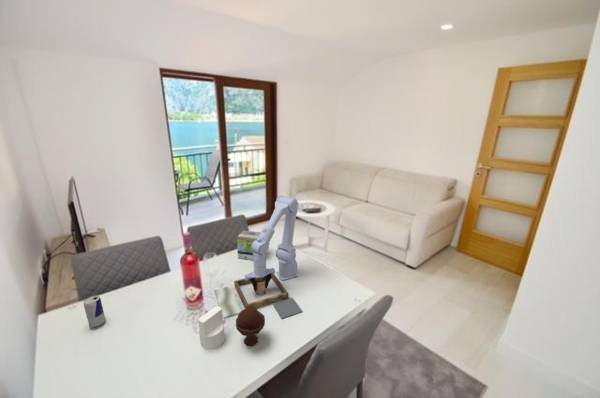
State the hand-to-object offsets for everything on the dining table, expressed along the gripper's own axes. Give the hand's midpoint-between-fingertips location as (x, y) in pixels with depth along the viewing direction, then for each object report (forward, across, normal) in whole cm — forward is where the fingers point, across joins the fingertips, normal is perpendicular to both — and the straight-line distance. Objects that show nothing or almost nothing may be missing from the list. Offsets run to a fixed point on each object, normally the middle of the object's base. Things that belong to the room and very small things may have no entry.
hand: (260, 288), depth 128 cm
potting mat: (+2, -7, +16) cm, 18 cm away
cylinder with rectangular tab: (+2, +26, +19) cm, 32 cm away
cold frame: (+2, +5, 0) cm, 5 cm away
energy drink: (+2, +66, -9) cm, 67 cm away
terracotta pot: (+2, 0, 0) cm, 2 cm away
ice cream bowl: (+2, +13, +26) cm, 29 cm away
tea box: (+2, -7, -35) cm, 36 cm away
